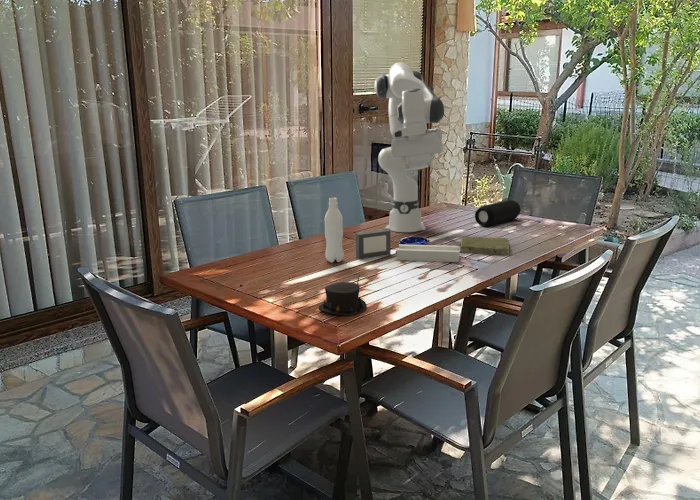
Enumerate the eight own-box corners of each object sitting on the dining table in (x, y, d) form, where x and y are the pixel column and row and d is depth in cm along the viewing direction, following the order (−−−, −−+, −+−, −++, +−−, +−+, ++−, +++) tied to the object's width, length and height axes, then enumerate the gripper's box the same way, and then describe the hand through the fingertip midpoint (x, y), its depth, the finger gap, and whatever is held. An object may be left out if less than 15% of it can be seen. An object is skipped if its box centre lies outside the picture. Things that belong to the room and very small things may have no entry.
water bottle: (335, 257, 250) (333, 195, 244) (347, 260, 245) (346, 198, 239) (321, 261, 246) (319, 198, 239) (334, 264, 241) (332, 200, 234)
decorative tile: (460, 243, 270) (460, 235, 269) (508, 244, 266) (508, 236, 265) (458, 254, 253) (459, 246, 252) (509, 256, 249) (510, 248, 248)
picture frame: (355, 257, 250) (355, 233, 248) (387, 253, 256) (386, 229, 253) (359, 259, 247) (358, 234, 245) (390, 254, 253) (390, 230, 250)
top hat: (344, 321, 185) (343, 287, 182) (308, 309, 195) (307, 278, 192) (376, 307, 196) (376, 275, 193) (341, 297, 205) (340, 266, 203)
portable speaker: (505, 217, 316) (505, 198, 313) (521, 220, 309) (522, 200, 306) (472, 225, 300) (473, 205, 297) (489, 229, 293) (490, 208, 290)
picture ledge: (399, 253, 254) (399, 244, 253) (459, 255, 249) (459, 246, 248) (396, 259, 245) (396, 250, 244) (458, 262, 241) (458, 252, 240)
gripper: (444, 128, 237) (446, 164, 238) (394, 134, 246) (397, 169, 248) (438, 127, 231) (441, 165, 233) (388, 134, 240) (391, 170, 242)
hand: (418, 167), depth 240 cm, fingers open, 8 cm apart
